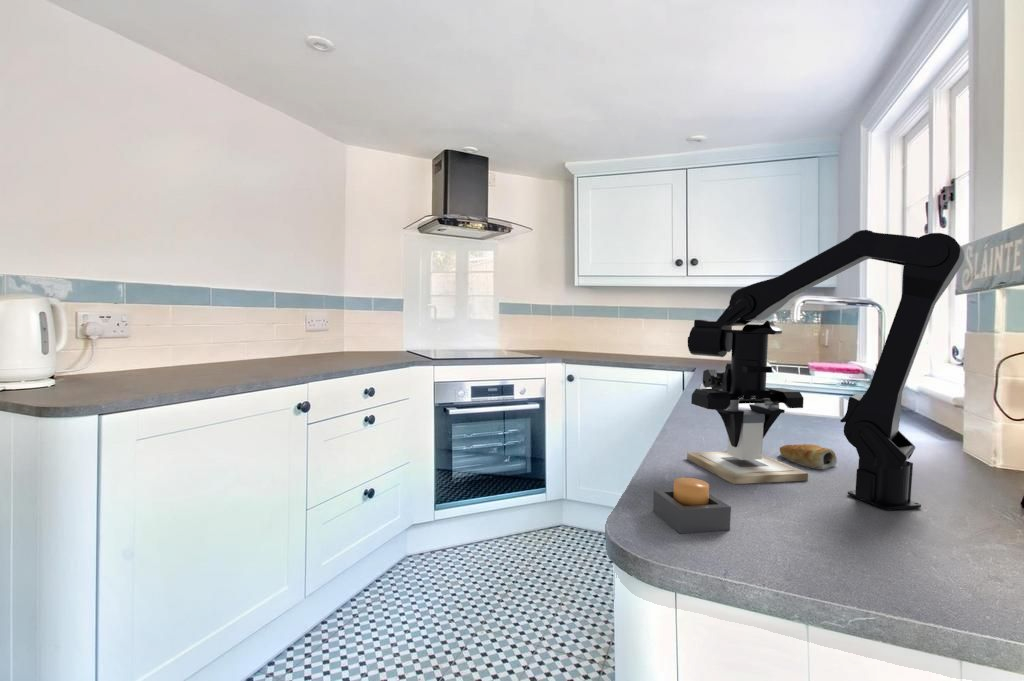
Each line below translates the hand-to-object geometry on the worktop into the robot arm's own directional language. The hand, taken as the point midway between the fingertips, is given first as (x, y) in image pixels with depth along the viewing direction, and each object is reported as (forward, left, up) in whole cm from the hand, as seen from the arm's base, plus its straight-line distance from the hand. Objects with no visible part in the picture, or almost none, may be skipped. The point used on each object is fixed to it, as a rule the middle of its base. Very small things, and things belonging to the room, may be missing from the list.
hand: (744, 446), depth 88 cm
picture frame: (0, 0, -4) cm, 4 cm away
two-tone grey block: (0, 0, -2) cm, 2 cm away
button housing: (+22, +19, -4) cm, 29 cm away
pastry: (-15, -2, -5) cm, 16 cm away
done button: (+22, +19, -2) cm, 29 cm away
